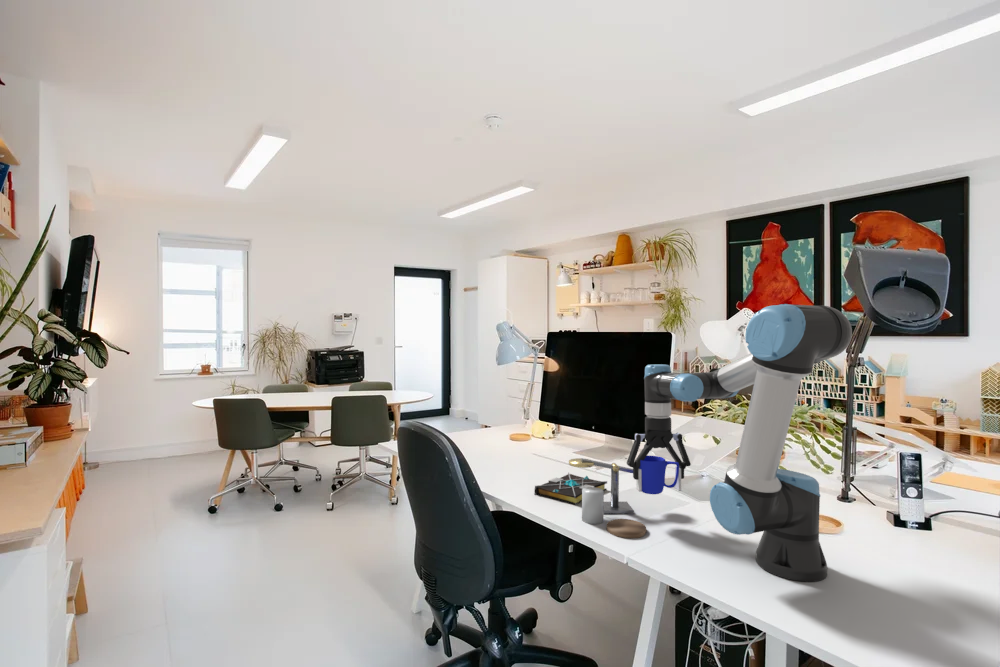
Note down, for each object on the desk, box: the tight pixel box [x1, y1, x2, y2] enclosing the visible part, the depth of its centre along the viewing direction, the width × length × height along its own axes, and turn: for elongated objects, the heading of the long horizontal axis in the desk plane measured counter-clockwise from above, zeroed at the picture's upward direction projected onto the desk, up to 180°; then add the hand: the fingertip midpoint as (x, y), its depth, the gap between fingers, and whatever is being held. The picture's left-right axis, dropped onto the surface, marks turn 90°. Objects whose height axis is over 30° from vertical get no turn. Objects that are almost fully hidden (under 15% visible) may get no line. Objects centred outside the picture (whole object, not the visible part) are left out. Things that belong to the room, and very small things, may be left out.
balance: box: [568, 457, 635, 515], centre depth 164 cm, size 8×30×16 cm, turn 92°
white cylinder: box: [581, 487, 605, 525], centre depth 155 cm, size 6×6×9 cm
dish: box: [606, 518, 647, 539], centre depth 147 cm, size 11×11×1 cm
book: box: [533, 472, 608, 506], centre depth 181 cm, size 22×17×5 cm
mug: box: [639, 455, 679, 495], centre depth 153 cm, size 8×12×10 cm
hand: (658, 490), depth 153 cm, fingers closed on mug, 11 cm apart
